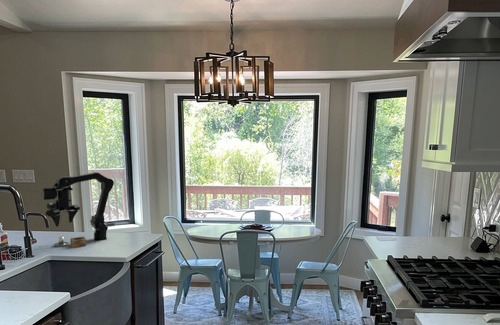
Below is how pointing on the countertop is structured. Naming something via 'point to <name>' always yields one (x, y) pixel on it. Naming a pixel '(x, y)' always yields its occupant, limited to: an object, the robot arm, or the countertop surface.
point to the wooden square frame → (78, 242)
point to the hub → (61, 242)
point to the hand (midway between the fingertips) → (63, 224)
